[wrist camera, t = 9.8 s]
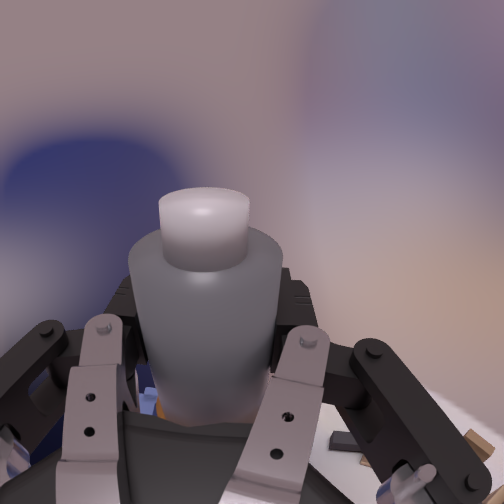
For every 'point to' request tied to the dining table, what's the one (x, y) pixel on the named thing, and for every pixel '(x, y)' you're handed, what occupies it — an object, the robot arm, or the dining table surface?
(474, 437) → the clip
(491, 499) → the tan wooden end block
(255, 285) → the grey piece
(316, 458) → the dining table surface
